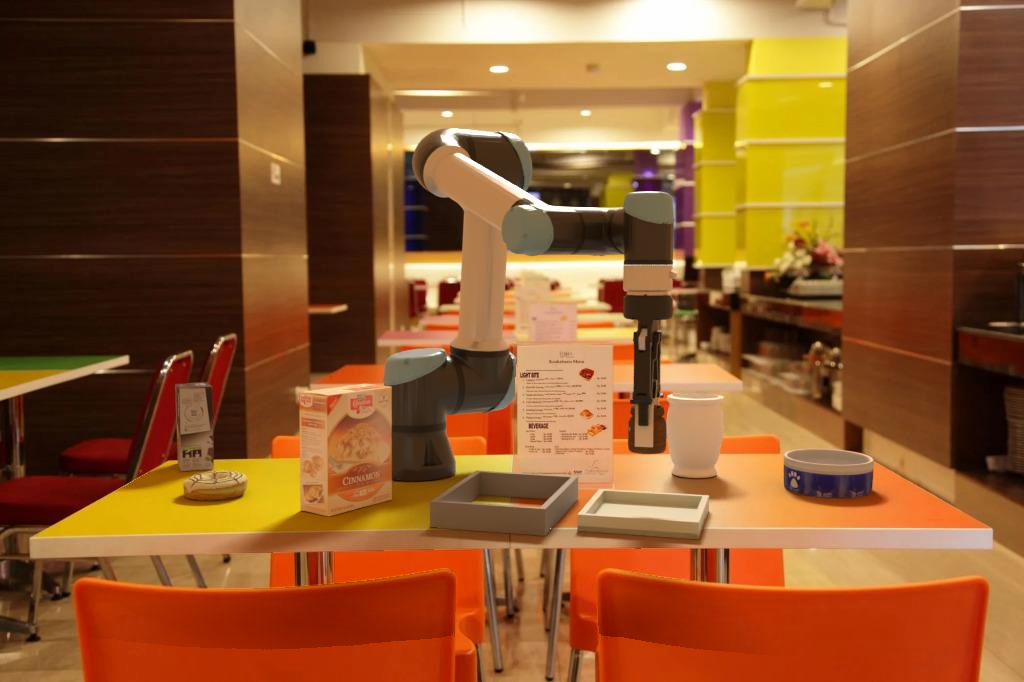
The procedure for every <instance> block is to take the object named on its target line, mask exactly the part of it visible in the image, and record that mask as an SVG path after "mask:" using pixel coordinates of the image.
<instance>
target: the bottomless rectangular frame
mask: <svg viewBox="0 0 1024 682" xmlns="http://www.w3.org/2000/svg"><path fill="white" fill-rule="evenodd" d="M479 496H493V497H494V496H495V497H511V498H522V499H523V498H525V499H526V498H527V499H528V498H529V499H539V500H540V499H542V500H546V501H545V502H544V503H543V504H542V505H541V506H530V505H529V506H528V505H512V504H498V503H483V502H482V503H481V502H474V501H475V500H476V499H477V498H478V497H479ZM578 500H579V475H566V474H565V475H561V474H547V473H546V474H545V473H525V472H511V471H510V472H508V471H506V472H505V471H495V470H492V471H491V470H475V471H473V472H471V474H469V475H468V476H466V477H464V478H463V479H461V480H460V481H459V482H457V483H456V484H454V485H453V486H451V487H449V488H448V489H447V490H445V491H443V492H442V493H440V494H439V495H437V496H436V497H434V498H433V499H431V500H430V501H429V528H430V527H440V528H439V529H444V528H451V529H450V530H458V529H459V531H461V530H463V531H473V532H475V531H476V532H487V533H488V532H489V533H501V534H517V535H530V536H540V537H541V536H542V537H543V536H544V537H545V536H546V535H548V534H549V532H550V531H551V530H550V528H552V527H553V526H554V525H555V526H556V524H558V522H559V521H560V520H561V519H562V518H563V517H564V516H565V515H566V513H567V512H568V511H570V509H571V508H572V507H573V506H574V505H575V503H577V501H578ZM555 526H554V527H555ZM554 527H553V528H554ZM553 528H552V529H553Z"/></svg>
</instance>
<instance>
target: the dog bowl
mask: <svg viewBox="0 0 1024 682" xmlns="http://www.w3.org/2000/svg"><path fill="white" fill-rule="evenodd" d="M874 466H875V461H874V458H873V457H871V456H869V455H867V454H864V453H861V452H856V451H851V450H850V451H849V450H843V449H833V448H799V449H793V450H788V451H786V452H785V453H784V455H783V487H784V489H785V490H786V491H789V492H791V493H794V494H797V495H802V496H807V497H813V498H824V499H855V498H863V497H867V496H870V495H871V494H872V493H873V486H874V484H873V483H874V482H873V481H874Z"/></svg>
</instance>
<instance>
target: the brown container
mask: <svg viewBox="0 0 1024 682" xmlns="http://www.w3.org/2000/svg"><path fill="white" fill-rule="evenodd" d="M657 381H658V380H657ZM657 381H656V388H657ZM658 382H659V381H658ZM659 383H660V392H662V386H661V381H660V382H659ZM660 395H661V393H660ZM656 397H657V395H656V396H655V398H656ZM656 399H657V398H656ZM658 399H659V400H658V402H659V403H660V399H661V398H660V397H659V398H658ZM655 402H656V401H654V403H655ZM657 404H658V403H657ZM629 411H630V415H631V416H630V418H629V420H628V423H627V446H628V447H627V448H628V451H630V452H631V453H634V454H640V455H658V454H663V453H664V452H665V451H666V449H667V429H666V421H667V419H665V417H664V415H665V407H664V406H663V405H660V404H659V405H654V409H653V447H635V404H632V405H631V407H630V410H629Z"/></svg>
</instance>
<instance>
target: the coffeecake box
mask: <svg viewBox="0 0 1024 682" xmlns="http://www.w3.org/2000/svg"><path fill="white" fill-rule="evenodd" d="M298 396H299V400H298V401H299V405H298V406H299V410H298V411H299V484H300V485H299V489H300V490H299V491H300V492H299V494H300V496H299V498H300V499H299V501H300V503H299V504H300V511H301V512H302V511H303V512H308V513H311V514H315V515H320V516H324V517H333V516H336V515H339V514H340V515H341V514H343V513H346V512H351V511H355V510H358V509H363V508H366V507H370V506H375V505H377V504H381V503H384V502H388V501H389V502H390V501H392V500H393V480H392V387H390V386H384V384H373V383H372V384H371V383H361V384H353V385H343V386H338V387H337V386H336V387H327V388H322V389H313V390H306V391H299V392H298Z"/></svg>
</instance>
